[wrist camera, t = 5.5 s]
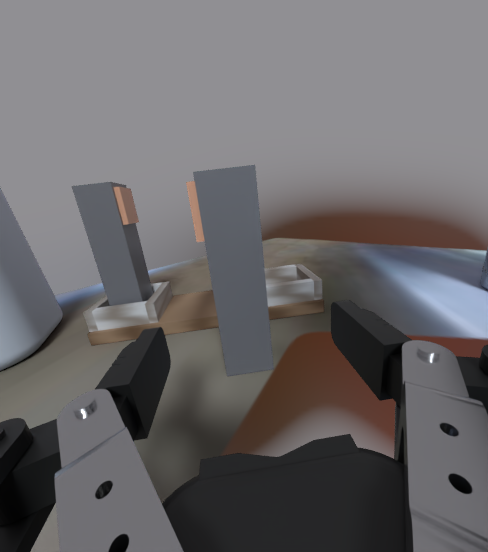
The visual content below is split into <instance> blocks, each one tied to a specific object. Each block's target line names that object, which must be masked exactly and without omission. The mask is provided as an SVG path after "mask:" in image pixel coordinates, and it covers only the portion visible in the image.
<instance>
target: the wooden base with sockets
mask: <svg viewBox="0 0 488 552" xmlns="http://www.w3.org/2000/svg"><path fill="white" fill-rule="evenodd" d="M265 280H266V291H267V301H268V312H269V320H271V319H278V318H285V317H292V316H299V315H306V314H313V313H320V312H324V300H323V299H322V280H321V279H320V278H319V277H317V276H316V275H315V274H314V273H312V272H311V271H310V270H308V269H307V268H306V267H304V266H303V265H302V264H296V265H288V266H281V267H273V268H266V269H265ZM151 287H152V291H153V295H152V296H151V297H150V298H149V300H148V301H143V302H136V303H129V304H121V305H114V306H110V305H109V301H108V298H107V295H106V296H105V297H103V298H102V299H101V300H99V301H98V302H97V303H95V304H94V305H93V306H91V307H90V308H89V309H87V310H86V311H85V312H83V315H84V317H85V320H86V323H87V326H88V328H89V331H90V332H89V333H88V334H87V335H88V337H89V340H90V343H91V345H98V344H105V343H112V342H119V341H125V340H132V339H138V337H139V336H140V334H141V332H142V331H143V330H144V329H150V328H157V327H161V328H162V329H163V331H164V335H167V334H174V333H181V332H188V331H195V330H202V329H209V328H216V327H219V324H218V318H217V312H216V306H215V300H214V294H213V290H211V291H204V292H196V293H189V294H182V295H174V296H173V295H172V291H171V286H170V282H161V283H154V284H151Z"/></svg>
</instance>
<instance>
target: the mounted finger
mask: <svg viewBox="0 0 488 552" xmlns="http://www.w3.org/2000/svg"><path fill="white" fill-rule="evenodd" d="M72 189H73V192H74V195H75V198H76V201H77V205H78V208H79V211H80V214H81V217H82V220H83V223H84V226H85V229H86V233H87V236H88V239H89V242H90V245H91V248H92V251H93V255H94V258H95V261H96V264H97V267H98V270H99V273H100V276H101V280H102V283H103V286H104V289H105V292H106V295H107V298H108V301H109V305H110V306H114V305H121V304H129V303H136V302H143V301H148V300H149V298H150V297H151V296H152V295H153V291H152V287H151V283H150V279H149V275H148V271H147V267H146V263H145V259H144V255H143V251H142V247H141V243H140V240H139V235H138V231H137V228H136V223H137V222H139V221H138V217H137V213H136V209H135V205H134V201H133V196H132V192H131V189H128V188H126V185H122V184H117V183H113V182H106V183H97V184H88V185H79V186H72Z"/></svg>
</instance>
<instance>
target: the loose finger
mask: <svg viewBox="0 0 488 552" xmlns="http://www.w3.org/2000/svg"><path fill="white" fill-rule="evenodd" d="M193 174H194V180H195V181H191V182H186V184H187V189H188V194H189V201H190V206H191V212H192V217H193V223H194V229H195V234H196V240H197V242H202V241H205V246H206V252H207V258H208V264H209V270H210V276H211V282H212V288H213V294H214V300H215V306H216V312H217V318H218V324H219V330H220V336H221V342H222V348H223V354H224V360H225V366H226V372H227V376H233V375H239V374H246V373H252V372H259V371H265V370H272V369H274V367H273V356H272V345H271V334H270V323H269V312H268V301H267V291H266V280H265V269H264V258H263V247H262V236H261V225H260V214H259V204H258V193H257V182H256V171H255V165H251V166H242V167H233V168H225V169H215V170H206V171H197V172H193Z"/></svg>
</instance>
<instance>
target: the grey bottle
mask: <svg viewBox="0 0 488 552" xmlns="http://www.w3.org/2000/svg"><path fill="white" fill-rule="evenodd" d="M62 316H63V313H62V310H61V308H60V306H59V304H58V302H57V300H56V298H55V296H54V294H53V292H52V290H51V288H50V286H49V284H48V282H47V280H46V278H45V276H44V274H43V272H42V270H41V268H40V266H39V264H38V262H37V260H36V258H35V257H34V254H33V252H32V250H31V248H30V246H29V244H28V242H27V240H26V239H25V236H24V234H23V232H22V230H21V228H20V226H19V224H18V222H17V220H16V218H15V216H14V214H13V212H12V210H11V208H10V206H9V204H8V202H7V200H6V198H5V196H4V194H3V192H2V190H1V188H0V370H3V369H5V368H8V367H10V366H12V365H14V364H16V363H18V362H20V361H22V360H23V359H25V358H26V357H28V356H30V355H31V354H32V353H34V352H35V351H36V350H37V349H38V348H39V347H40V346H41V345H42V344H43V342H44V341H45V340H46V339H47V337H48V336H49V335H50V334H51V332H52V331H53V330H54V329H55V327H56V326H57V325H58V324H59V322H60V321H61V319H62Z"/></svg>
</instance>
